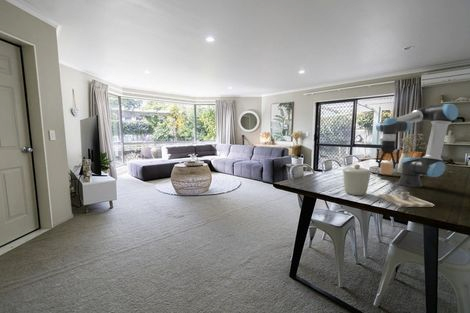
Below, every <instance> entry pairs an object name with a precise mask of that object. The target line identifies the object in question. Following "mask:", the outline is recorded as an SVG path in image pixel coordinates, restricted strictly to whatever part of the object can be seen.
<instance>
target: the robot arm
mask: <svg viewBox="0 0 470 313" xmlns="http://www.w3.org/2000/svg"><path fill="white" fill-rule="evenodd" d="M458 116H459V109H458V107H457V106H456V105H455V104H453V103H442V104H435V105H426V106H424V107H420V108H418V109H415V110H413V111H411V112H409V113H407V114H404V115H401V116H398V117H386V118H384V120H383V121H380V122H377V123H376V125H375V129H376V131H377V132H382V141H381V147H380V148H376V156H375V163H377V164H378V166H377V168H379V173H380V174H381V169H382V163H381V162H383V159H384V157H385V155H386V154H388V155H389V154H390V158H391V161H392V164H393V166H392V174H394V173H393V172H394V169H396V165H397V164H399V163H400V152H401V150H400V149H399V148H396V138H397V137H396V136H397V133H407V132H410V130H411V129H412V124H413V123H419V122H420V123H421V122H427V121H428V122H429V121H430V123H431V125H432V126H431V130H430V134H429V139H428V143H427V147H426V152H425V155H424V156H422V157H404V158H403V159H402V163H401V164H402V166H401V175H400V178H399V180H397V181H398V183H397V185H400V186H403V187H408V188H421V187H422V185H423V184H422V183H423V182H422V181H421V176H425V177H427V176H428V177H433V178H438V177H440V176H442V175H443V174H444V173H445V170H446V164H445V163H444V162H443V158H442V157H441V156H442V152H443V147H444V144H445V140H446V135H447V132H448V128H449V125H451V124H452V122H453V121H454V120H456V119H457V118H458ZM381 151H382V154H381V155H380V152H381ZM394 152H395V154H396V155H395V156H394V154H393V153H394ZM380 156H381V157H380ZM379 157H380V159H379ZM395 158H396V159H395ZM420 175H421V176H420Z"/></svg>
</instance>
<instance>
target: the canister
mask: <svg viewBox="0 0 470 313" xmlns="http://www.w3.org/2000/svg"><path fill="white" fill-rule="evenodd" d="M342 172H343V185H344V187H343V188H344V191H345V193H346V194H349V195H353V196H364V195H366V194H367V191H368V188H369V183H370V179H371V174H372V173H373V172H372V171H371V170H369V169H367V168H363V167H361V166H360V164H358V163H357V164H354V165H353V167H345V168H343V169H342Z"/></svg>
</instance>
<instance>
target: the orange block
mask: <svg viewBox="0 0 470 313" xmlns="http://www.w3.org/2000/svg"><path fill="white" fill-rule="evenodd" d="M381 163H382V169H381V173H380V174H381V175H382V174H383V175H392V166H393V162H383V161H381Z"/></svg>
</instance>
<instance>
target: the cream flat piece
mask: <svg viewBox="0 0 470 313" xmlns="http://www.w3.org/2000/svg"><path fill="white" fill-rule="evenodd" d="M377 196H378V198H380V199H383V200H385V201H388V202H389V203H391V204H393V205H396V206H398V207H406V208H407V207H408V208H409V207H412V208H414V207H415V208H417V207H419V208H421V207H423V208H424V207H425V208H426V207H427V208H431V207H433V206H434V207H435V204H434V203H432V202H429V201H427V200H424V199H421V198H418V197H416V196H413V195H410V192H408V191H401V192H400V194H394V193H392V194H390V193H389V194H386V193H385V194H378V195H377ZM434 207H433V208H434Z"/></svg>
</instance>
